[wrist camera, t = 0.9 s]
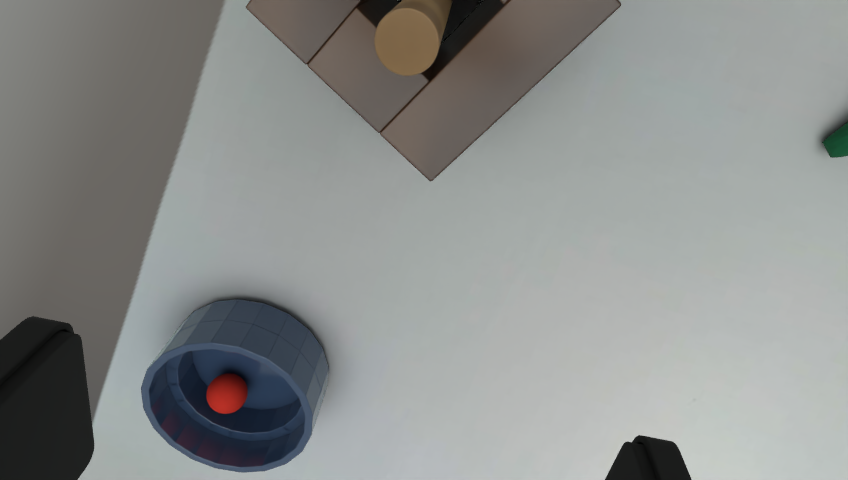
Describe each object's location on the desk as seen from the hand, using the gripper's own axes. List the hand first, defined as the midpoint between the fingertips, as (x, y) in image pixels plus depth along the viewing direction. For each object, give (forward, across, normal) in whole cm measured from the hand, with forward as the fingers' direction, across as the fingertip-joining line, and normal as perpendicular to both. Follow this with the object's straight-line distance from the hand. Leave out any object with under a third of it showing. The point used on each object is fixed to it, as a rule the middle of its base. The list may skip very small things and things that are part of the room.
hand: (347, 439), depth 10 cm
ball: (+27, +12, +28) cm, 41 cm away
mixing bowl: (+29, +10, +26) cm, 40 cm away
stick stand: (+29, +1, -5) cm, 30 cm away
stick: (+29, +1, -5) cm, 30 cm away
